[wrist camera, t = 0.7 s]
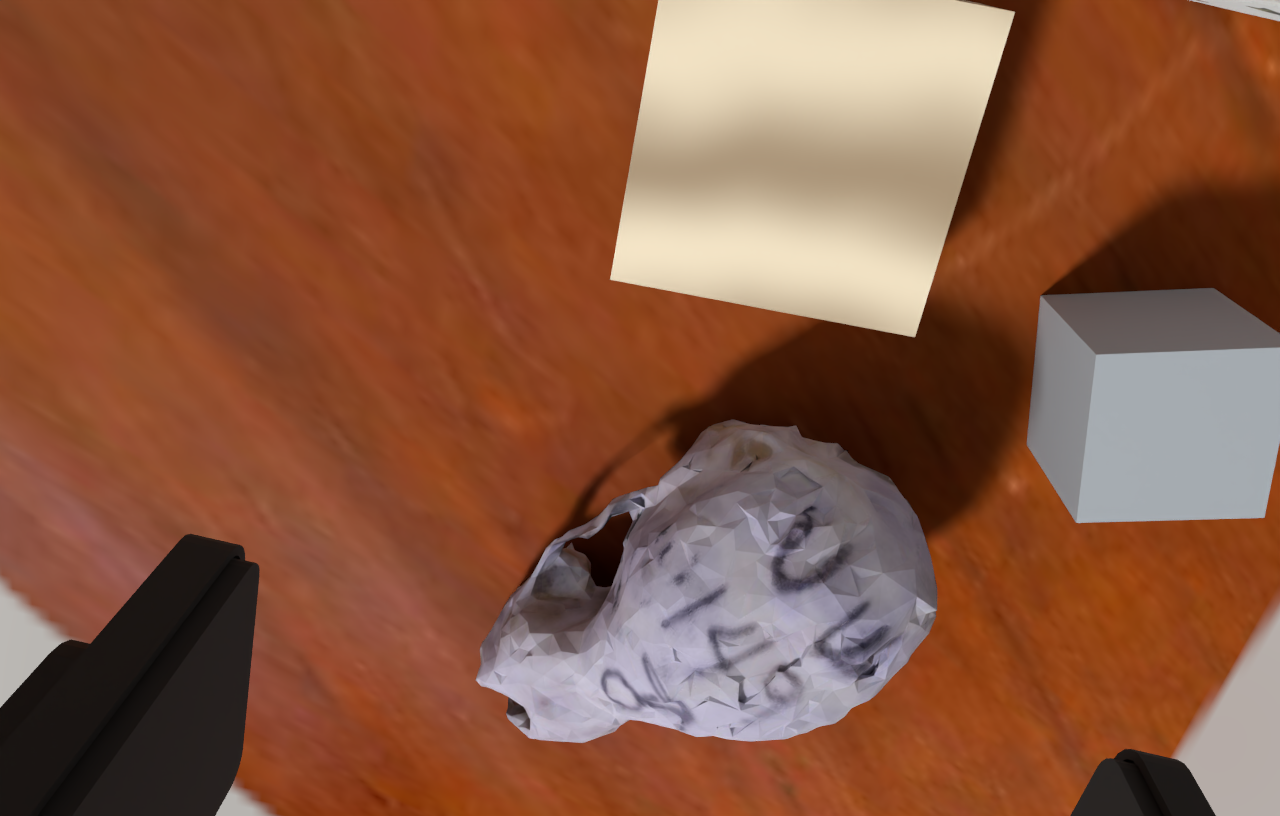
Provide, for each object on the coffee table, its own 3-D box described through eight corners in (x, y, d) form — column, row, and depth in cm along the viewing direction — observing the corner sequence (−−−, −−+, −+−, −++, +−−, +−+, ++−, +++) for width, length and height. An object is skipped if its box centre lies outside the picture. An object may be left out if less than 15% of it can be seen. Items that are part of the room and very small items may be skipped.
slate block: (1039, 294, 38) (1096, 354, 32) (1212, 287, 37) (1299, 346, 32) (1026, 443, 40) (1076, 522, 35) (1188, 438, 40) (1264, 517, 34)
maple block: (673, -57, 34) (668, -56, 30) (974, 1, 34) (1014, 11, 30) (622, 238, 38) (610, 279, 34) (890, 289, 38) (914, 337, 34)
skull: (543, 691, 49) (471, 861, 40) (435, 473, 45) (329, 606, 36) (963, 605, 43) (991, 782, 34) (879, 345, 39) (885, 466, 30)
